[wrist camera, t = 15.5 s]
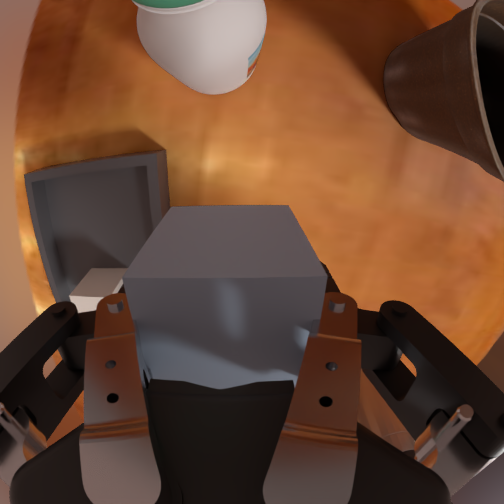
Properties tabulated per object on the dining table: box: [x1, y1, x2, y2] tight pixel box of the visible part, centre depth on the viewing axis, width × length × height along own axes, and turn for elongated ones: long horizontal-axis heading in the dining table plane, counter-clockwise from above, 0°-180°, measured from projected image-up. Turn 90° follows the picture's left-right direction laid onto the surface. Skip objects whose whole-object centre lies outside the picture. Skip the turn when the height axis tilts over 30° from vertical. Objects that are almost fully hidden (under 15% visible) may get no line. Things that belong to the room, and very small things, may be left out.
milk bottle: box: [132, 0, 267, 94], centre depth 14 cm, size 8×8×20 cm
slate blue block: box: [122, 205, 328, 389], centre depth 10 cm, size 5×5×6 cm
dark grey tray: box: [24, 150, 170, 303], centre depth 29 cm, size 20×16×4 cm
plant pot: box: [384, 0, 504, 182], centre depth 17 cm, size 16×16×16 cm
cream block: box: [69, 268, 128, 313], centre depth 29 cm, size 5×5×6 cm
